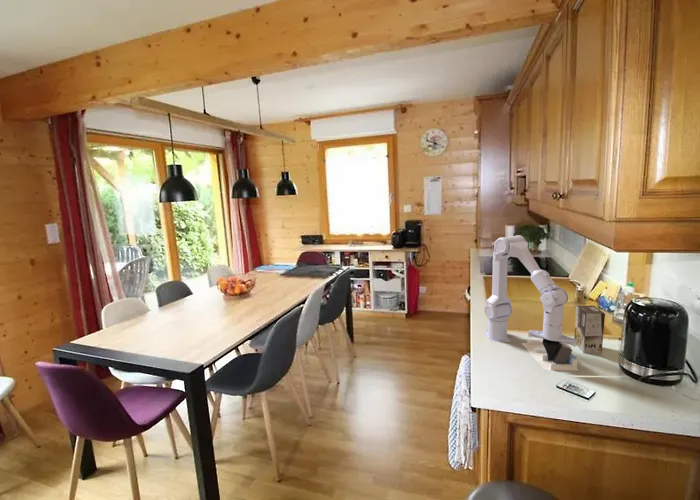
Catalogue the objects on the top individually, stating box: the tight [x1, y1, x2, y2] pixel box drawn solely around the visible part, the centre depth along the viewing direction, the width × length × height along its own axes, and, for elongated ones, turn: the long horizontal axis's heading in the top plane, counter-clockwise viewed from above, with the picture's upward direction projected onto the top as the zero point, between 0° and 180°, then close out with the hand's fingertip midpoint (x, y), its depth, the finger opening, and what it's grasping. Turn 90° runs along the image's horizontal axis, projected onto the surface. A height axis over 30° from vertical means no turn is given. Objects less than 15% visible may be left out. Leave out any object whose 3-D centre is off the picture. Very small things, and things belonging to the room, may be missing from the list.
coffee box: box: [573, 305, 606, 355], centre depth 135 cm, size 9×6×16 cm
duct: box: [521, 339, 579, 371], centre depth 132 cm, size 21×11×4 cm, turn 175°
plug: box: [552, 343, 573, 364], centre depth 125 cm, size 4×4×7 cm
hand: (550, 359), depth 125 cm, fingers closed, pressing on plug
